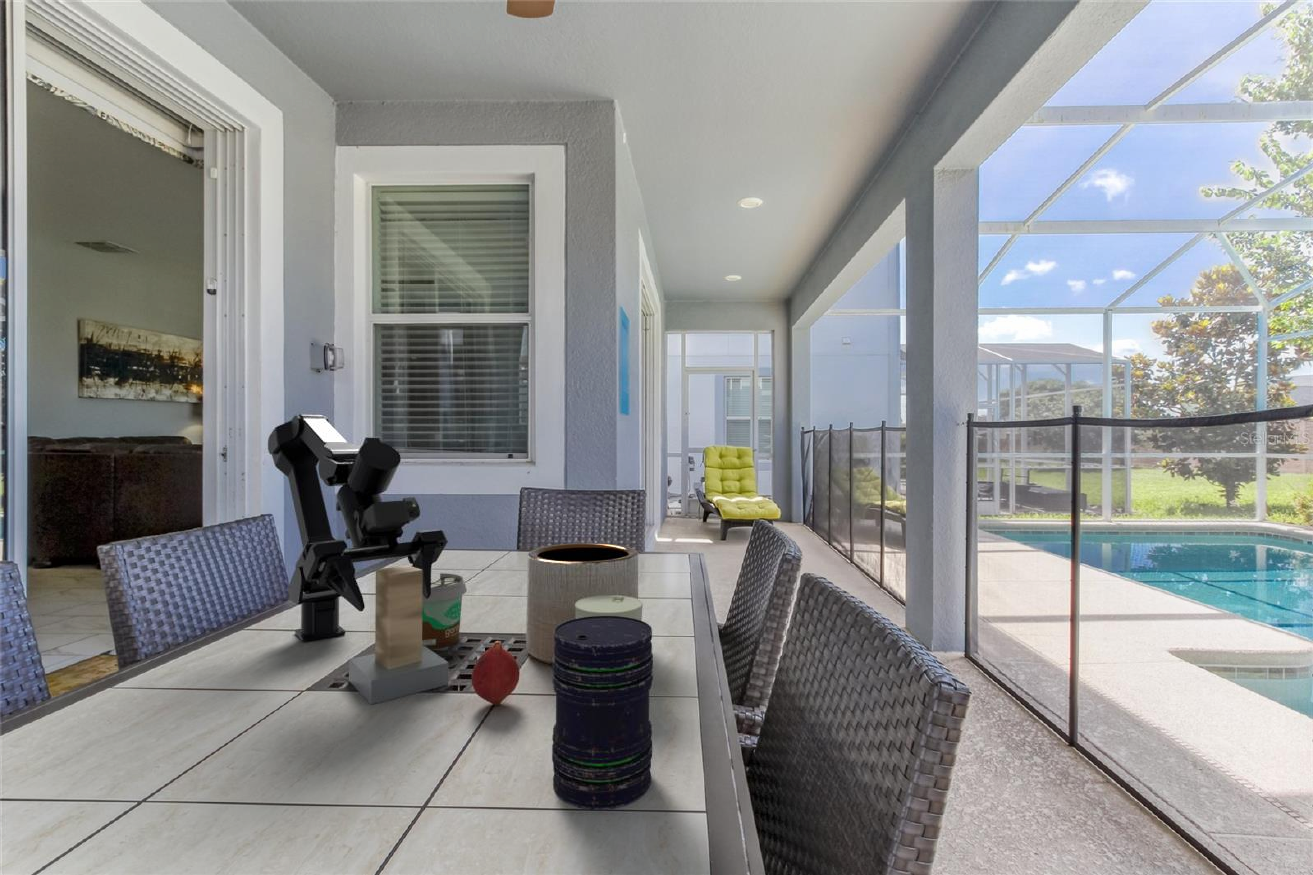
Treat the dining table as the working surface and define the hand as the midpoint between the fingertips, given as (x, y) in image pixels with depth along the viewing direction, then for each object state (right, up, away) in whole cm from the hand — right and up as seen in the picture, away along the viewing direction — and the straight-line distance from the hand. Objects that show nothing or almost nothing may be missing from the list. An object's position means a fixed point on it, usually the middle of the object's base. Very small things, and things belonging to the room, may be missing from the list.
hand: (396, 603), depth 87 cm
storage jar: (+30, -11, -25) cm, 41 cm away
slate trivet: (0, -11, 0) cm, 11 cm away
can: (+29, -11, -2) cm, 31 cm away
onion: (+15, -11, -7) cm, 20 cm away
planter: (+24, -11, +13) cm, 30 cm away
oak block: (0, -8, 0) cm, 8 cm away
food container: (+1, -11, +17) cm, 21 cm away
